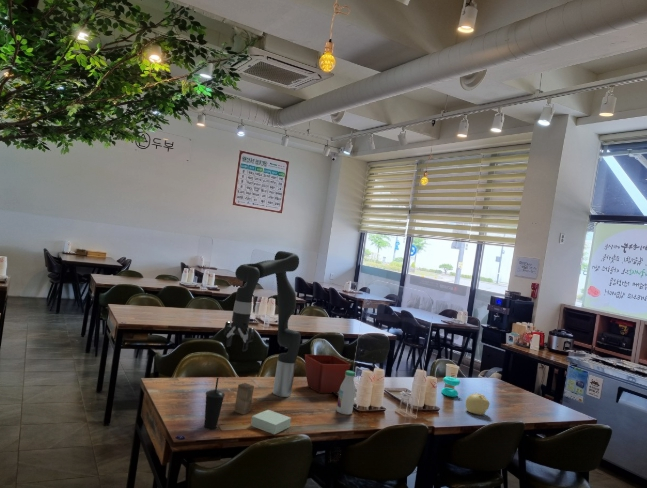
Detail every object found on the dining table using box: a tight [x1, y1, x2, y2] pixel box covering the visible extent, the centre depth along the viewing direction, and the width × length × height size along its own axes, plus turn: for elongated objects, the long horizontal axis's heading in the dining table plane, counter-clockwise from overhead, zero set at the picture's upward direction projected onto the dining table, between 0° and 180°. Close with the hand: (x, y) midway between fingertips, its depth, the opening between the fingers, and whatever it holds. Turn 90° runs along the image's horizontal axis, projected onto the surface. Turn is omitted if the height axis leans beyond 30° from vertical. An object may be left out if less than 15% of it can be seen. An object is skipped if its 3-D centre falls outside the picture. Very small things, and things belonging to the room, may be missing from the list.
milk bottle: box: [336, 370, 356, 416], centre depth 247 cm, size 8×8×20 cm
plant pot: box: [304, 354, 351, 394], centre depth 279 cm, size 19×19×17 cm
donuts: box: [441, 376, 461, 398], centre depth 308 cm, size 10×10×10 cm
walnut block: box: [233, 382, 255, 415], centre depth 227 cm, size 5×5×12 cm
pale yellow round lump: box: [464, 392, 490, 416], centre depth 279 cm, size 11×12×11 cm
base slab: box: [250, 409, 292, 435], centre depth 215 cm, size 12×12×4 cm
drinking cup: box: [203, 377, 226, 430], centre depth 205 cm, size 8×8×20 cm
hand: (236, 348), depth 220 cm, fingers open, 8 cm apart
